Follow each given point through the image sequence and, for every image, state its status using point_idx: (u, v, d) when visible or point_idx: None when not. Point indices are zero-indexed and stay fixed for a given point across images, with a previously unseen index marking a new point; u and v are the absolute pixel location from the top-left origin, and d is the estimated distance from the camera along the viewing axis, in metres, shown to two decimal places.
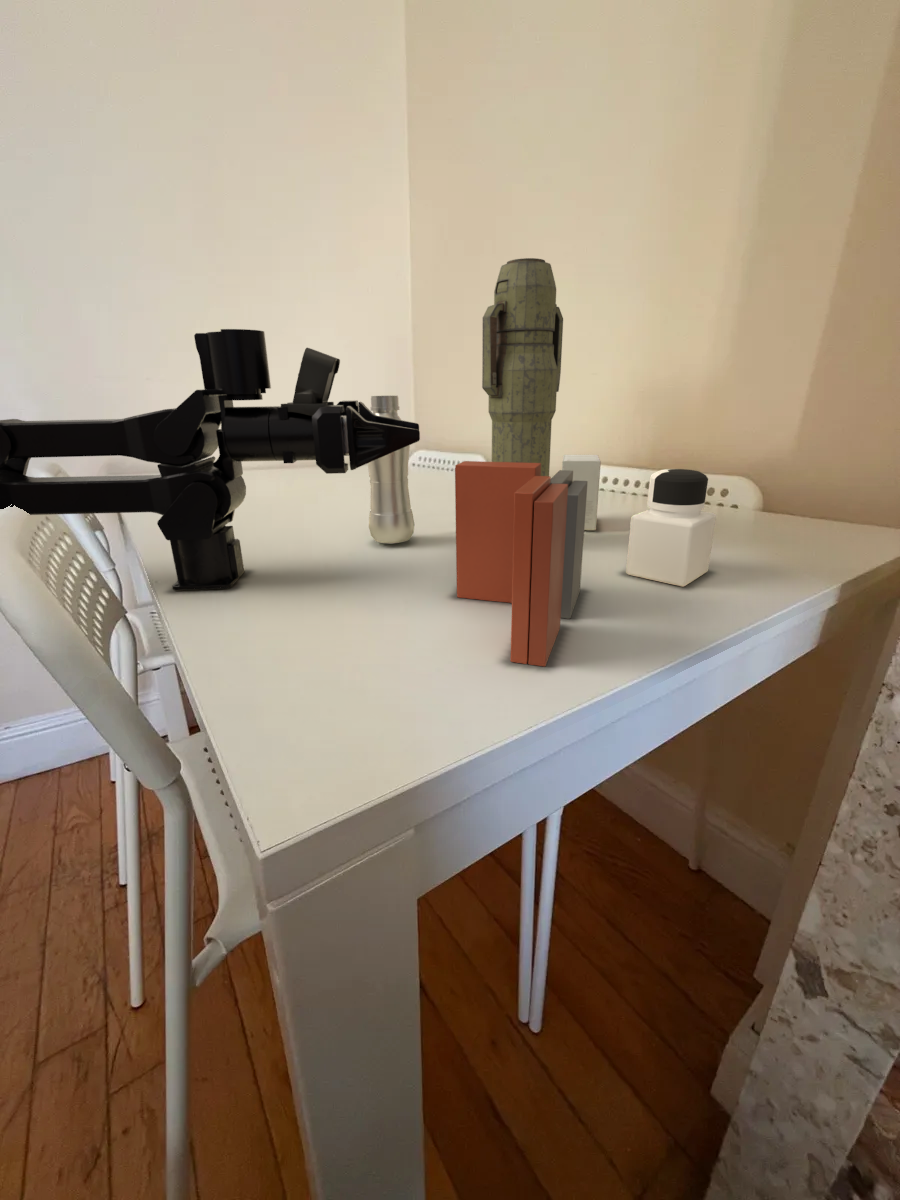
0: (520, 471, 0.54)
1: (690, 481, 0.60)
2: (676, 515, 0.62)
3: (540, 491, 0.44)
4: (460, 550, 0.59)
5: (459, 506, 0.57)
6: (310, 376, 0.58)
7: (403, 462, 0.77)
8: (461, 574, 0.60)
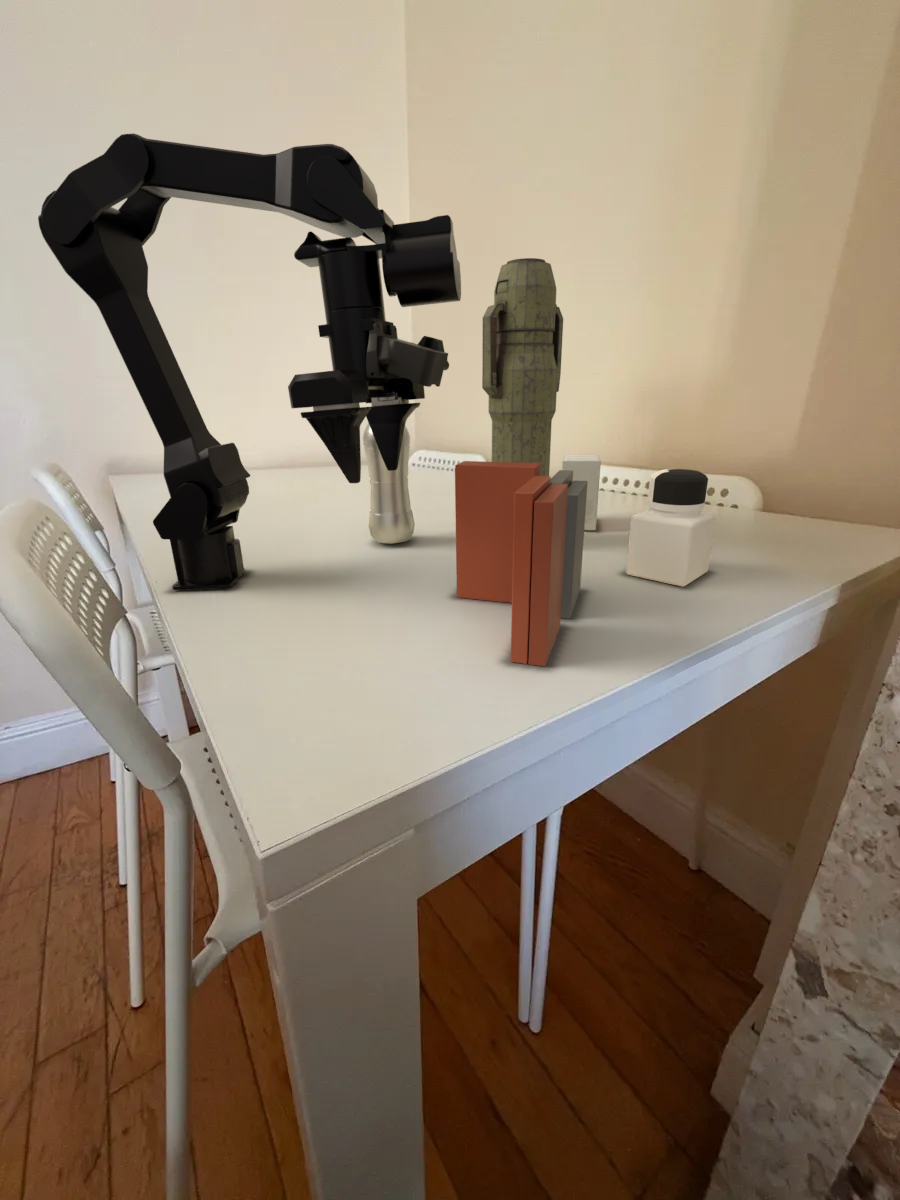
0: (520, 471, 0.54)
1: (690, 481, 0.60)
2: (676, 515, 0.62)
3: (540, 491, 0.44)
4: (460, 550, 0.59)
5: (459, 506, 0.57)
6: (405, 358, 0.52)
7: (403, 462, 0.77)
8: (461, 574, 0.60)
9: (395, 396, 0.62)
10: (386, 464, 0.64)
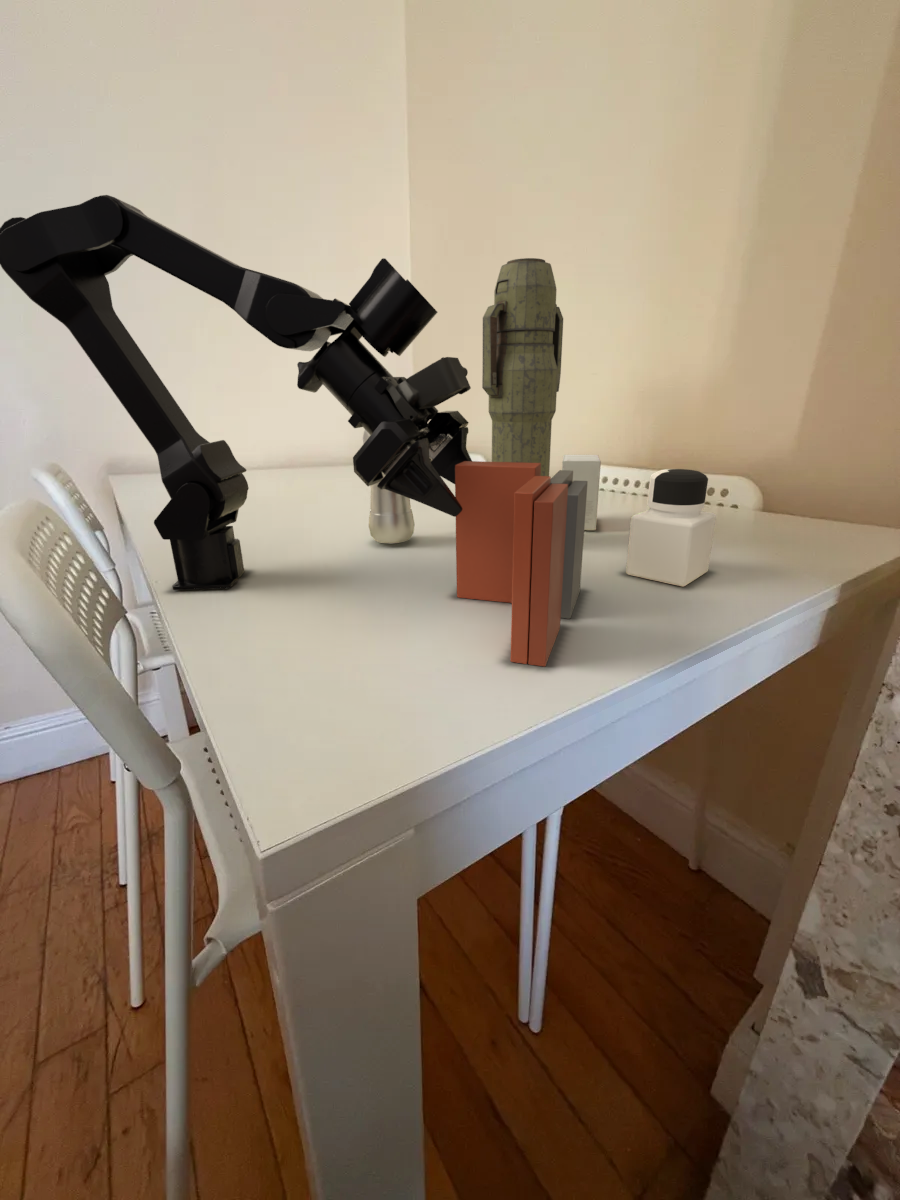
0: (520, 471, 0.54)
1: (690, 481, 0.60)
2: (676, 515, 0.62)
3: (540, 491, 0.44)
4: (460, 550, 0.59)
5: None
6: (427, 381, 0.53)
7: None
8: (461, 574, 0.60)
9: (444, 436, 0.62)
10: None
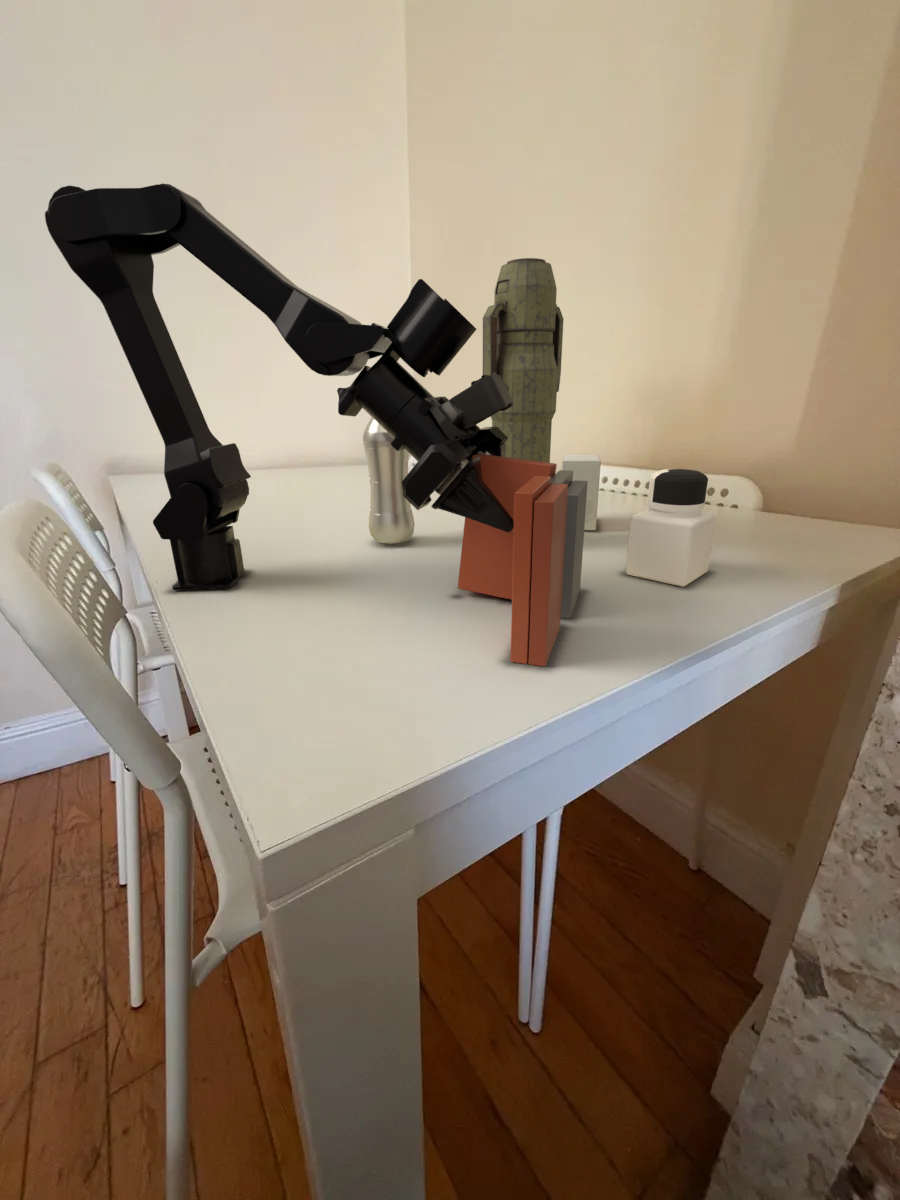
0: (536, 468, 0.55)
1: (690, 481, 0.60)
2: (676, 515, 0.62)
3: (540, 491, 0.44)
4: (466, 541, 0.59)
5: None
6: (471, 401, 0.52)
7: (403, 462, 0.77)
8: (465, 565, 0.60)
9: None
10: None
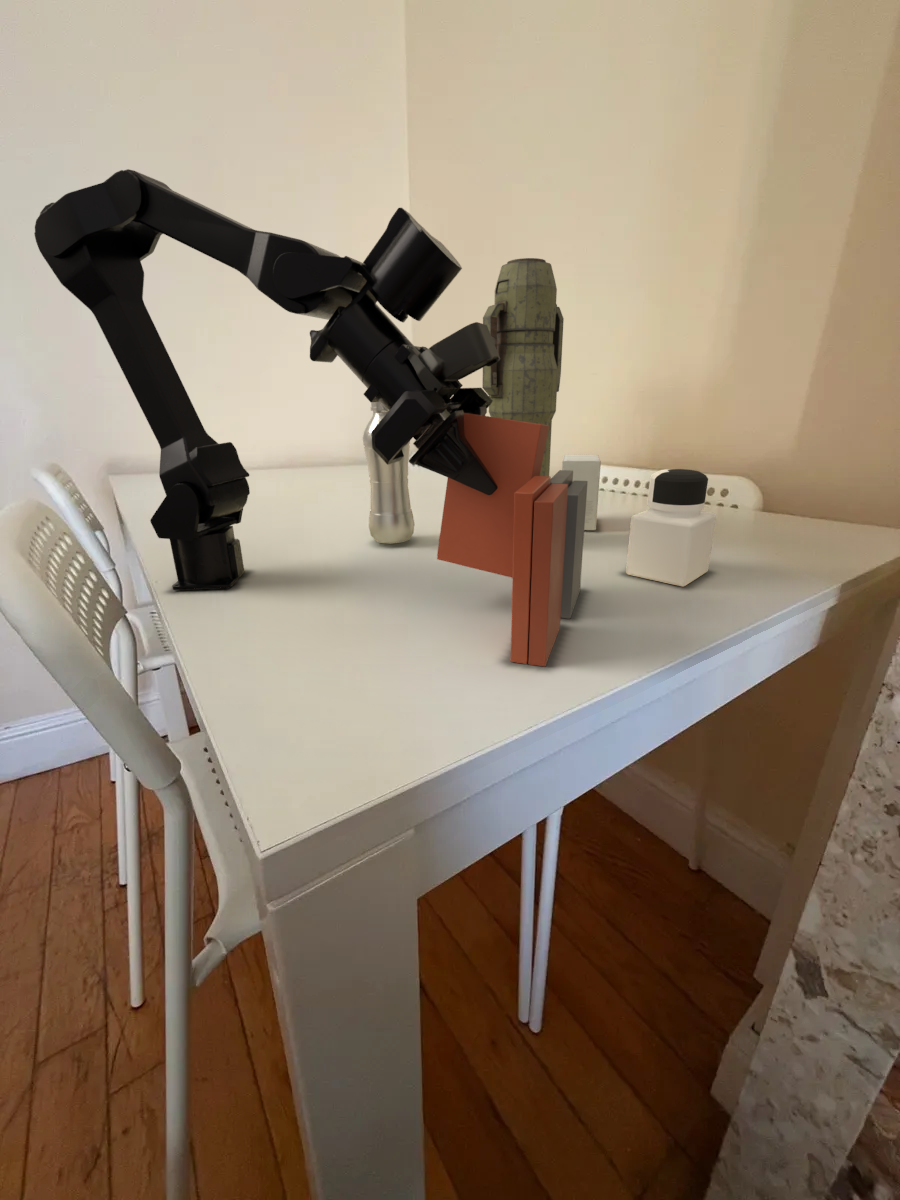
0: (525, 427, 0.50)
1: (690, 481, 0.60)
2: (676, 515, 0.62)
3: (540, 491, 0.44)
4: (448, 507, 0.54)
5: None
6: (454, 349, 0.48)
7: (403, 462, 0.77)
8: (445, 534, 0.55)
9: None
10: None
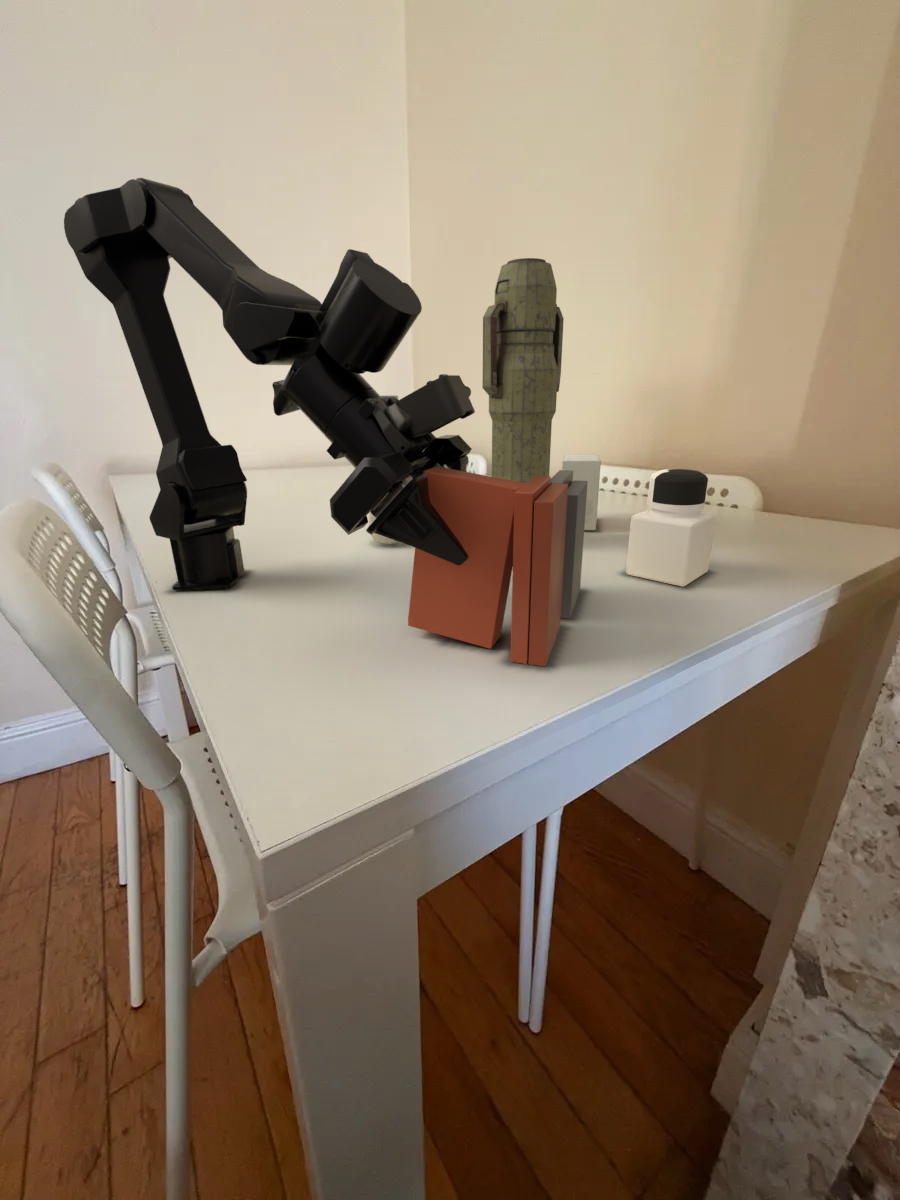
0: (499, 491, 0.44)
1: (690, 481, 0.60)
2: (676, 515, 0.62)
3: (540, 491, 0.44)
4: (417, 572, 0.49)
5: None
6: (422, 405, 0.43)
7: None
8: (415, 600, 0.50)
9: None
10: None
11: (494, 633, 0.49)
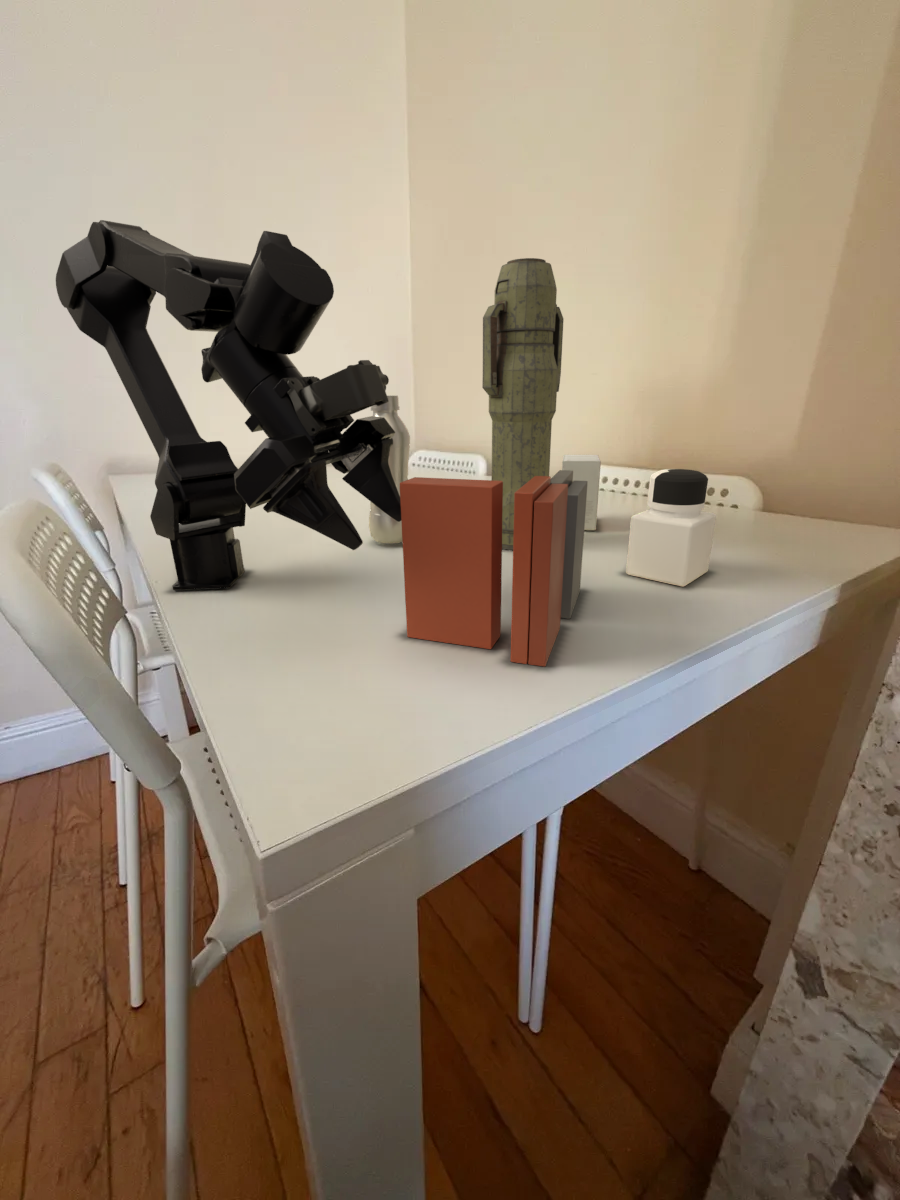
0: (475, 491, 0.45)
1: (690, 481, 0.60)
2: (676, 515, 0.62)
3: (540, 491, 0.44)
4: (409, 583, 0.50)
5: (406, 531, 0.48)
6: (333, 391, 0.46)
7: (403, 462, 0.77)
8: (411, 610, 0.51)
9: (363, 446, 0.55)
10: (393, 517, 0.56)
11: (492, 633, 0.49)
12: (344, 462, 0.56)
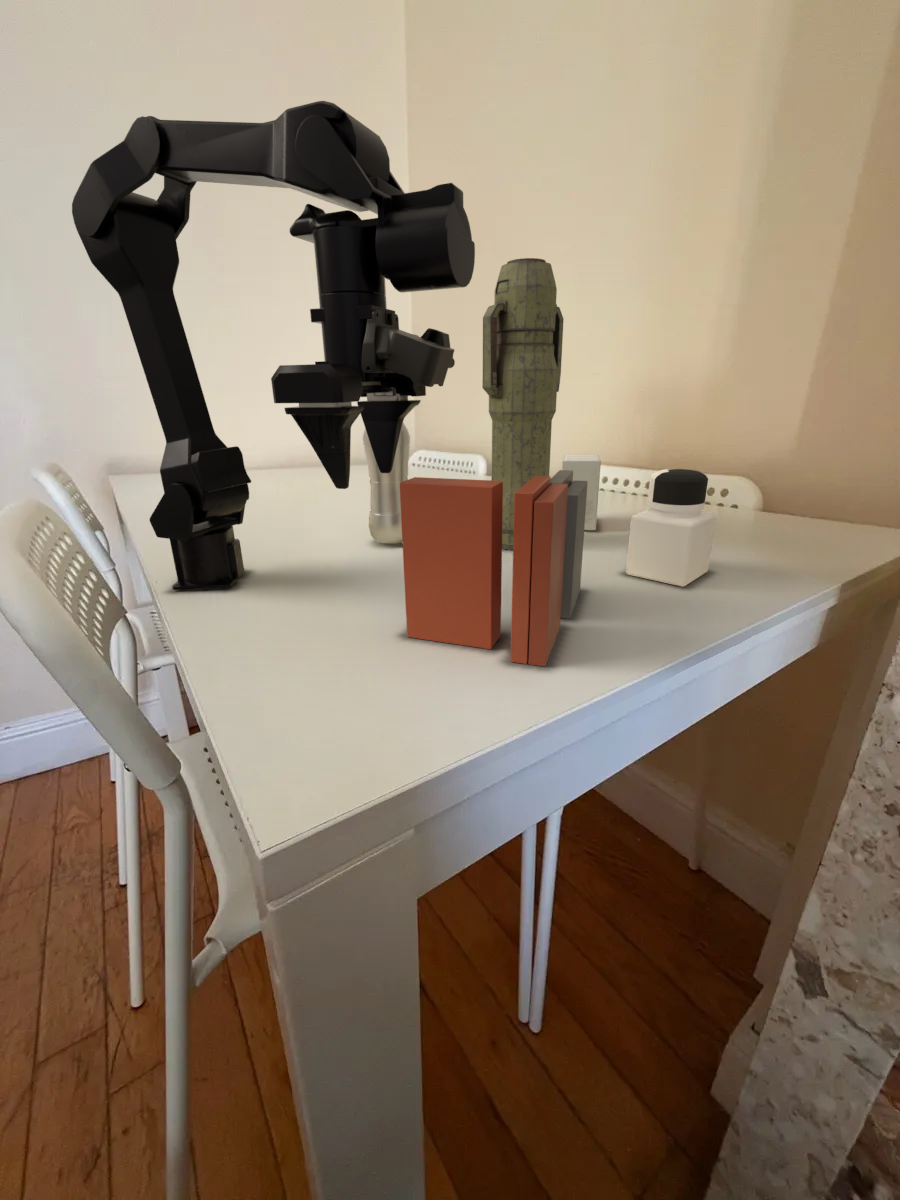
0: (475, 491, 0.45)
1: (690, 481, 0.60)
2: (676, 515, 0.62)
3: (540, 491, 0.44)
4: (409, 583, 0.50)
5: (406, 531, 0.48)
6: (406, 353, 0.47)
7: (403, 462, 0.77)
8: (411, 610, 0.51)
9: (393, 392, 0.56)
10: (379, 466, 0.58)
11: (492, 633, 0.49)
12: None
